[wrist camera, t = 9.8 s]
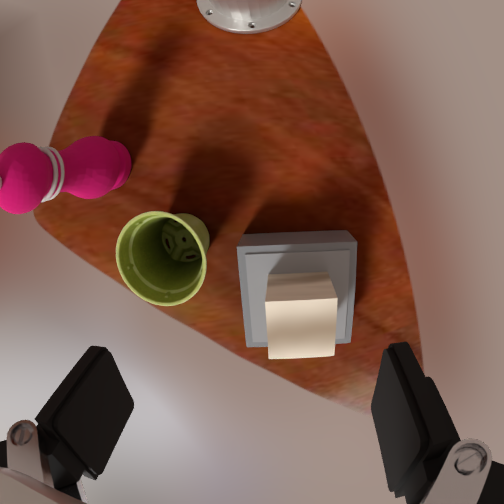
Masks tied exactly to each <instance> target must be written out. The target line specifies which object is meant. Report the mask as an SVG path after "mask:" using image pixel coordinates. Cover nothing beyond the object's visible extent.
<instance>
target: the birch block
mask: <svg viewBox="0 0 504 504" xmlns="http://www.w3.org/2000/svg"><path fill="white" fill-rule="evenodd" d="M337 300H338V298H337V295H336V293H335V290H334V287H333V284H332V282H331V279H330V276H329V274H328V272H311V273H291V274H268V281H267V289H266V297H265V309H266V324H267V338H268V353H269V359H287V358H309V357H325V356H334V350H335V336H336V320H337Z"/></svg>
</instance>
